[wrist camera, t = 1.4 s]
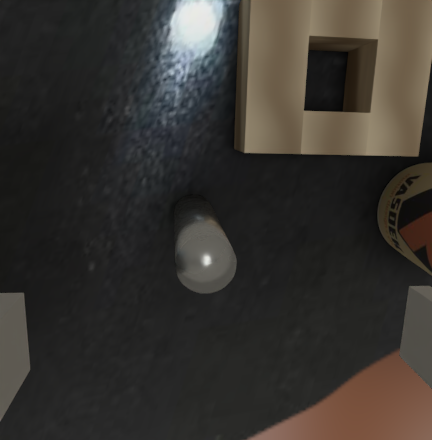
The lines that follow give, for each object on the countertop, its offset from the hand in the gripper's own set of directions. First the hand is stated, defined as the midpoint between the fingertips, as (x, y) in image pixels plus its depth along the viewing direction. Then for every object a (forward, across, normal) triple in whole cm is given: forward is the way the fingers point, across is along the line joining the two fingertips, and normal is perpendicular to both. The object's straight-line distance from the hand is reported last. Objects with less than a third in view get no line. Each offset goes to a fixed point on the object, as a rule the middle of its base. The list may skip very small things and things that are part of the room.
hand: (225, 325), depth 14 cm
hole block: (+18, +9, +10) cm, 23 cm away
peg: (+18, 0, 0) cm, 18 cm away
